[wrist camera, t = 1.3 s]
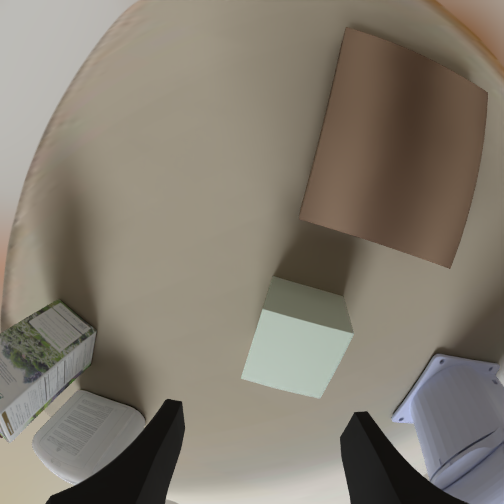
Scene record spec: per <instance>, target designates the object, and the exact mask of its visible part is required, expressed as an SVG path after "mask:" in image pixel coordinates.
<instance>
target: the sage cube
mask: <svg viewBox="0 0 504 504" xmlns="http://www.w3.org/2000/svg"><path fill="white" fill-rule="evenodd" d="M353 335H354V332H353V328H352V325H351V321H350V318H349V314H348V311H347V307H346V304H345V300H344V297H343V296H341V295H337V294H334V293H330V292H327V291H323V290H320V289H316V288H313V287H309V286H306V285H302V284H299V283H295V282H292V281H288V280H285V279H281V278H278V277H275V276H273V277H272V280H271V284H270V287H269V290H268V293H267V297H266V300H265V303H264V306H263V309H262V313H261V316H260V319H259V322H258V326H257V329H256V332H255V335H254V339H253V342H252V345H251V348H250V351H249V354H248V358H247V361H246V364H245V367H244V370H243V373H242V376H241V379H245V380H248V381H251V382H255V383H258V384H262V385H266V386H269V387H273V388H277V389H281V390H285V391H289V392H293V393H297V394H301V395H306V396H310V397H315V398H321V396H322V394H323V392H324V391H325V389H326V387H327V385H328V383H329V382H330V380H331V378H332V376H333V374H334V372H335V371H336V369H337V367H338V365H339V363H340V361H341V359H342V357H343V355H344V353H345V351H346V349H347V347H348V345H349V343H350V341H351V339H352V337H353Z"/></svg>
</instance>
